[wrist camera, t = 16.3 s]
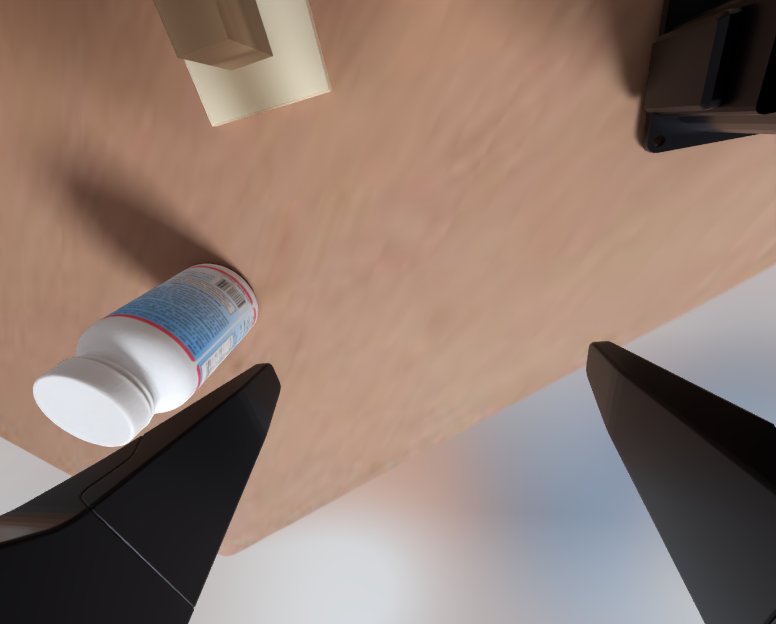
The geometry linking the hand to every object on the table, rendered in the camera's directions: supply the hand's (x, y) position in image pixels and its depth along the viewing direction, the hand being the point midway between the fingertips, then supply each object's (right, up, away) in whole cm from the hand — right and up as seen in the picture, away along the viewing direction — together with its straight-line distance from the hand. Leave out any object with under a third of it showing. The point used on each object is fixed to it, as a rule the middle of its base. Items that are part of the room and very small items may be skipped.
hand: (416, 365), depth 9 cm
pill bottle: (-13, +3, +15) cm, 20 cm away
